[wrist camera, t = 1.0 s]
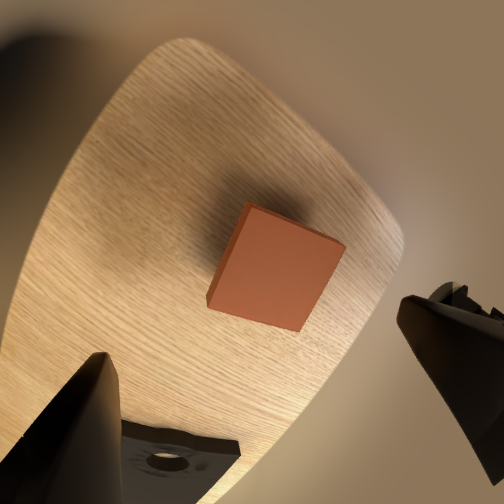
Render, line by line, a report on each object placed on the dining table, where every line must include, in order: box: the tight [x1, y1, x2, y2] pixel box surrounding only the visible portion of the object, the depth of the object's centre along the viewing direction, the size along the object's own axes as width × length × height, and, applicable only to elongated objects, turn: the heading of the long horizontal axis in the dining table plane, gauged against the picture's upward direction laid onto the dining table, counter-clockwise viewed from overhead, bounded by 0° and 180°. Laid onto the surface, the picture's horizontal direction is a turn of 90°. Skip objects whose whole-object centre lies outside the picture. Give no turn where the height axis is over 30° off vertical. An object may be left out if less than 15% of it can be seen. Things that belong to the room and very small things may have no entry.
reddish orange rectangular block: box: [206, 201, 346, 332], centre depth 18 cm, size 6×6×4 cm
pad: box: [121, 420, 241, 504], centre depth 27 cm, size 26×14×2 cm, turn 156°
